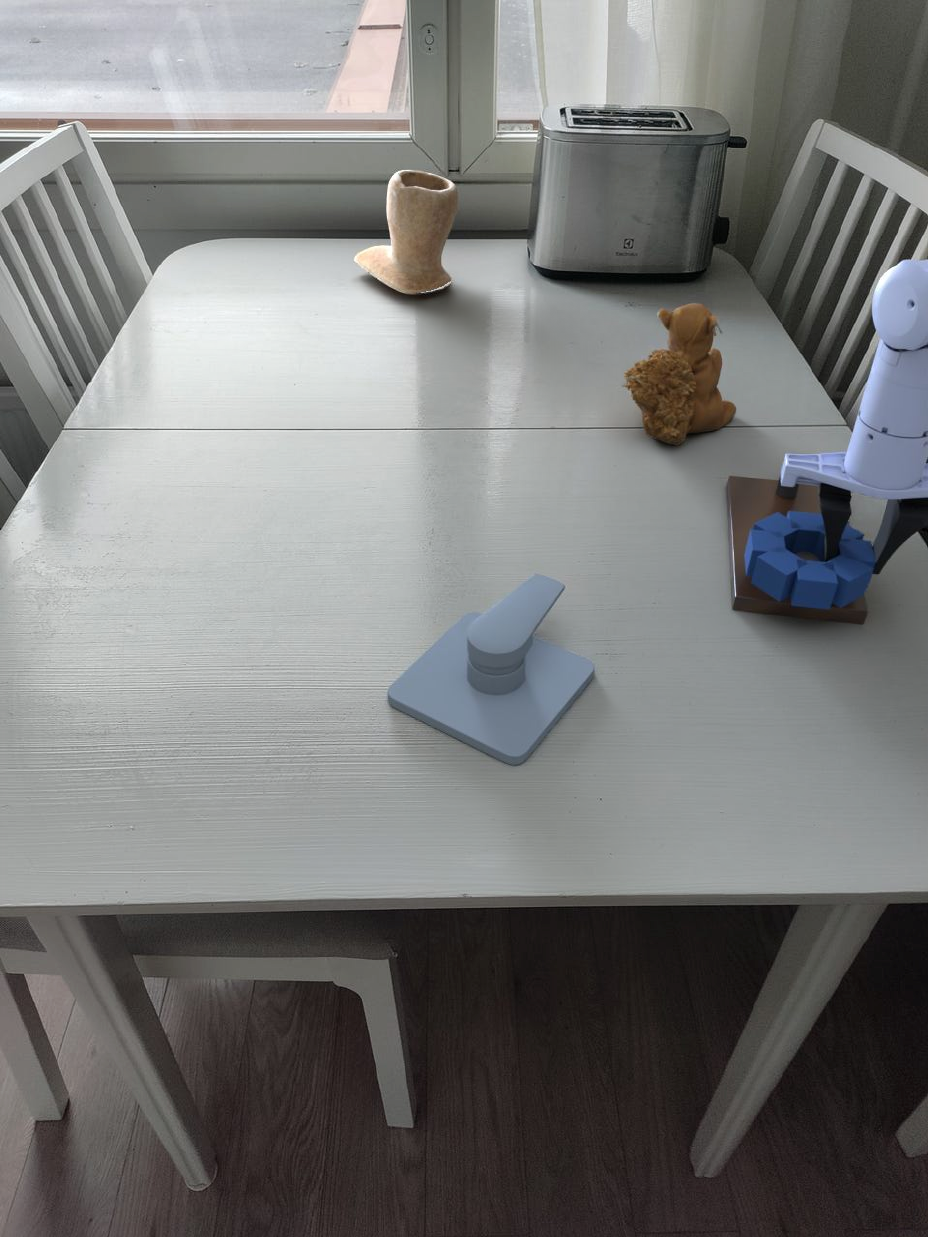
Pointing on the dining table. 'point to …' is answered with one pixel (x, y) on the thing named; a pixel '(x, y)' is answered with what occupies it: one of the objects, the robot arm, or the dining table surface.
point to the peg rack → (766, 498)
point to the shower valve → (496, 676)
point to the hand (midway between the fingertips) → (850, 564)
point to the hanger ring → (801, 578)
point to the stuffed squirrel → (681, 378)
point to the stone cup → (414, 233)
